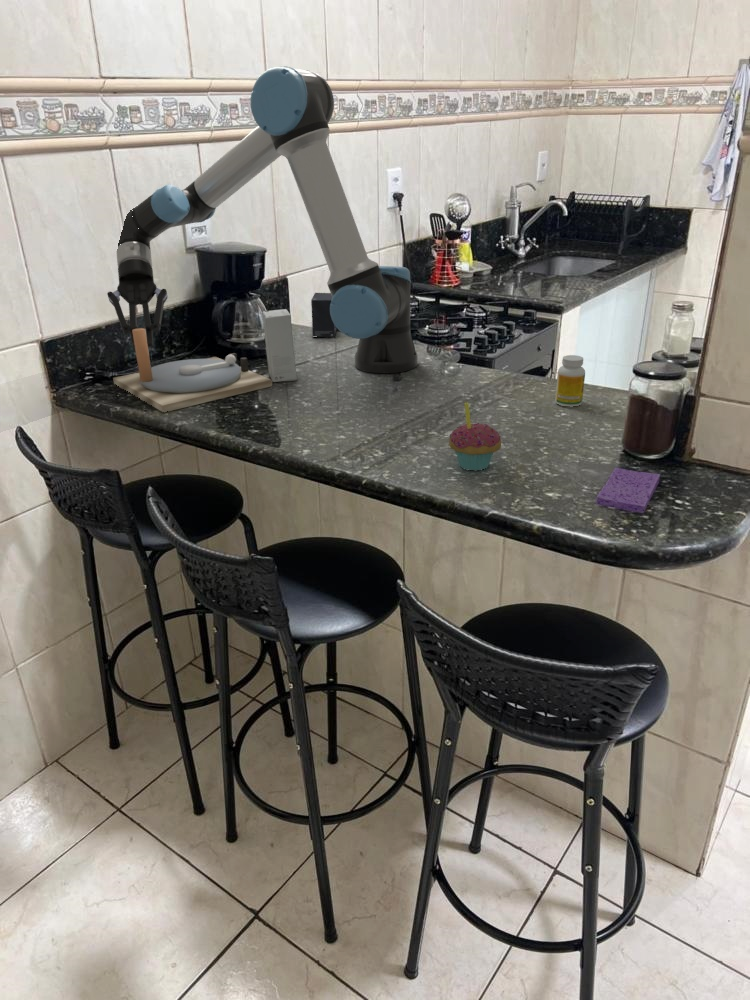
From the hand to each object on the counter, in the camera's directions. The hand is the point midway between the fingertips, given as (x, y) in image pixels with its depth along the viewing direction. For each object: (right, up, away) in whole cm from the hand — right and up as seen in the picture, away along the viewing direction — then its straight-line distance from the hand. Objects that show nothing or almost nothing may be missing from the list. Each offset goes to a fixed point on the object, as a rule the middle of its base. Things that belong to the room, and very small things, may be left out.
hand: (144, 358), depth 161 cm
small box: (+36, +16, +47) cm, 62 cm away
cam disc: (+9, -3, +5) cm, 11 cm away
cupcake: (+67, -25, -37) cm, 81 cm away
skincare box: (+29, -2, +10) cm, 31 cm away
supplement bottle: (+90, -11, -10) cm, 91 cm away
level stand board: (+9, -5, +6) cm, 12 cm away
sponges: (+89, -30, -47) cm, 105 cm away
